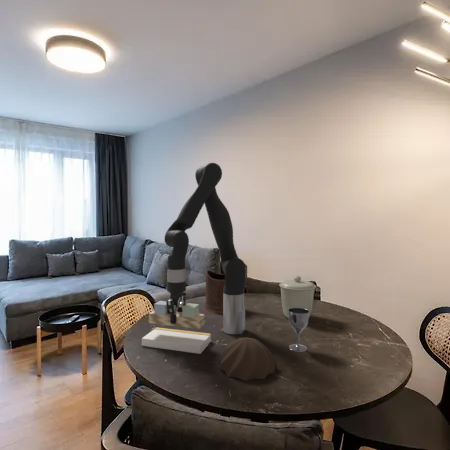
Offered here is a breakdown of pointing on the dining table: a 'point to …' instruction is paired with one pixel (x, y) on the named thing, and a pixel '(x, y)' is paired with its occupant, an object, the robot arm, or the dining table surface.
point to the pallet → (178, 320)
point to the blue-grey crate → (160, 308)
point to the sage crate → (190, 310)
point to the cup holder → (215, 291)
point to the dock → (177, 340)
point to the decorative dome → (247, 359)
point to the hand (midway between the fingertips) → (176, 320)
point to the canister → (297, 294)
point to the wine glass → (298, 325)
